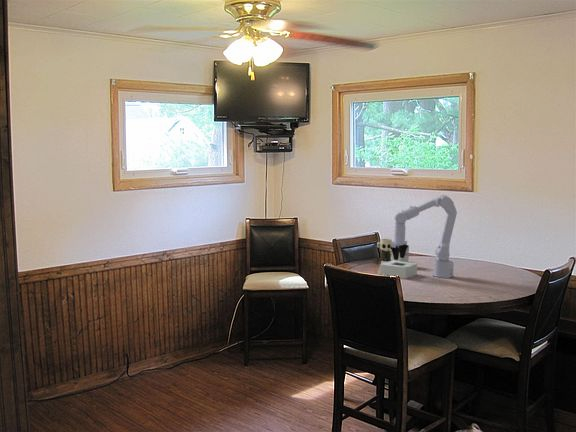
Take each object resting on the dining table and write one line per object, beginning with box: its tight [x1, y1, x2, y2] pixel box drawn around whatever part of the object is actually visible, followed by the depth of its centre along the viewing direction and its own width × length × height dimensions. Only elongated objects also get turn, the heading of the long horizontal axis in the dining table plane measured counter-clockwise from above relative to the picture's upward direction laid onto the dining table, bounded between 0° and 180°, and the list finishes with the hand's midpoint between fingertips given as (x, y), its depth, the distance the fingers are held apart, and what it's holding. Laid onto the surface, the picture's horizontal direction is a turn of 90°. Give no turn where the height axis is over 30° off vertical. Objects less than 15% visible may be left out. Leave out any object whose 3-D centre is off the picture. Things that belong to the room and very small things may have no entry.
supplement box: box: [390, 244, 410, 262], centre depth 366 cm, size 7×7×13 cm
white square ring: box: [379, 260, 418, 280], centre depth 343 cm, size 15×15×6 cm
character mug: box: [376, 238, 393, 261], centre depth 384 cm, size 11×7×13 cm, turn 87°
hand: (399, 258), depth 342 cm, fingers open, 7 cm apart
